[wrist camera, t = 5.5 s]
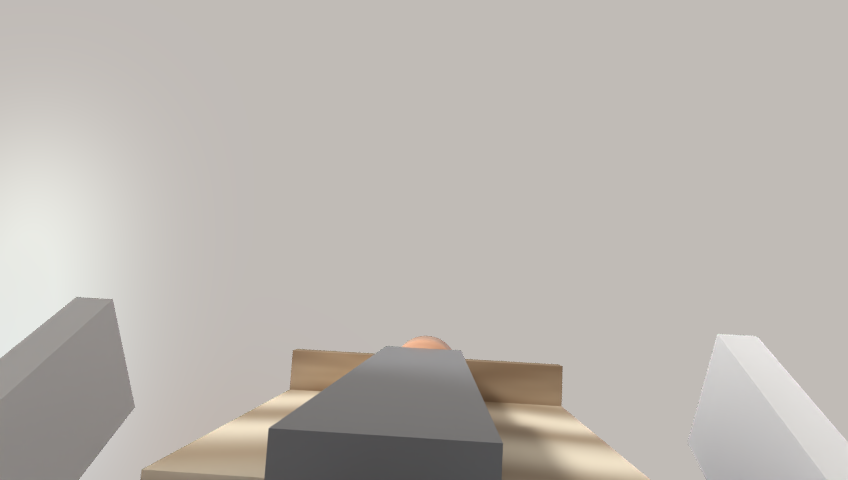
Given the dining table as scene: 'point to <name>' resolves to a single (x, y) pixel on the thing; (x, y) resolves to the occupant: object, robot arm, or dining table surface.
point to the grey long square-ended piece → (391, 423)
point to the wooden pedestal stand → (499, 387)
